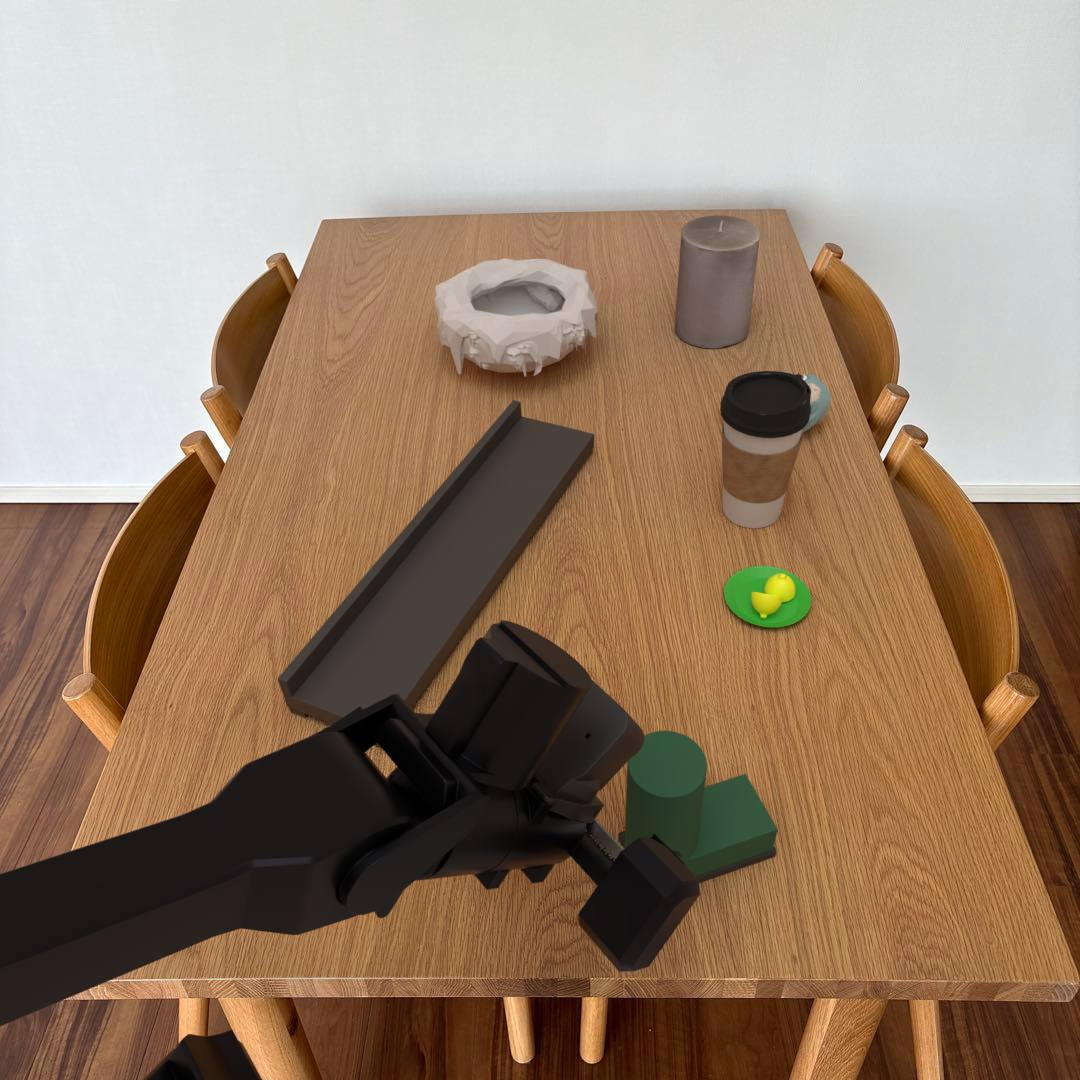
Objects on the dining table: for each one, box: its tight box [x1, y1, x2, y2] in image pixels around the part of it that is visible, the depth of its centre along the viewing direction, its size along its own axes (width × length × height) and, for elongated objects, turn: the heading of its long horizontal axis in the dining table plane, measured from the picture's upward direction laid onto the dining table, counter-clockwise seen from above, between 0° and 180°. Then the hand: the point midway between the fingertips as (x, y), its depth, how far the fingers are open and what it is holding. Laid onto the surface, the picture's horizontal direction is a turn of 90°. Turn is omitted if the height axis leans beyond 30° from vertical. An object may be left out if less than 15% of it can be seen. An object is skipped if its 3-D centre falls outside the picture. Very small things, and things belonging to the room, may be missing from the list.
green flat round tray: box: [723, 565, 812, 628], centre depth 89 cm, size 8×8×3 cm
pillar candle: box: [674, 214, 761, 350], centre depth 121 cm, size 10×10×15 cm
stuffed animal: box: [782, 371, 832, 433], centre depth 109 cm, size 11×7×12 cm
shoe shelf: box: [277, 399, 595, 749], centre depth 94 cm, size 44×10×4 cm, turn 155°
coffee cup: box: [719, 370, 811, 529], centre depth 95 cm, size 8×8×15 cm
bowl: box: [433, 257, 599, 378], centre depth 120 cm, size 21×20×10 cm
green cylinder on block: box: [618, 730, 779, 884], centre depth 68 cm, size 11×5×12 cm, turn 109°
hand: (627, 810), depth 63 cm, fingers open, 9 cm apart
